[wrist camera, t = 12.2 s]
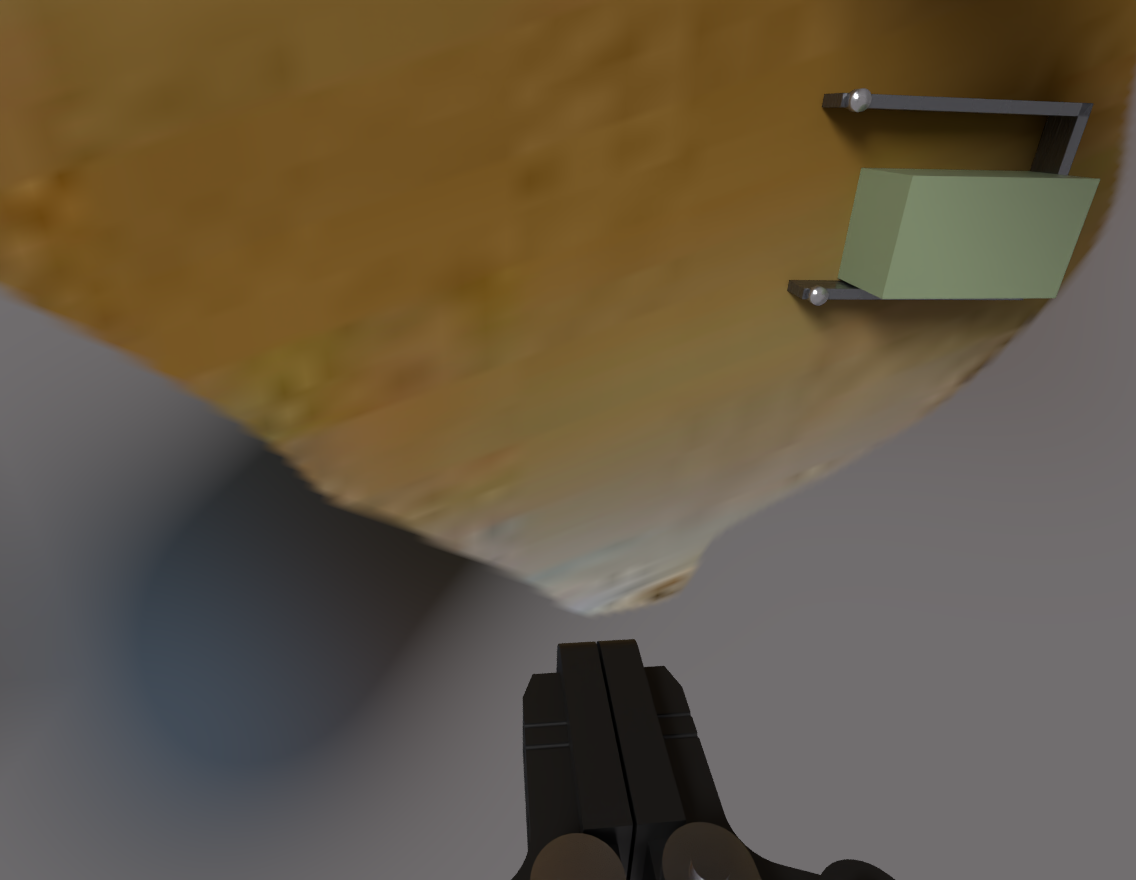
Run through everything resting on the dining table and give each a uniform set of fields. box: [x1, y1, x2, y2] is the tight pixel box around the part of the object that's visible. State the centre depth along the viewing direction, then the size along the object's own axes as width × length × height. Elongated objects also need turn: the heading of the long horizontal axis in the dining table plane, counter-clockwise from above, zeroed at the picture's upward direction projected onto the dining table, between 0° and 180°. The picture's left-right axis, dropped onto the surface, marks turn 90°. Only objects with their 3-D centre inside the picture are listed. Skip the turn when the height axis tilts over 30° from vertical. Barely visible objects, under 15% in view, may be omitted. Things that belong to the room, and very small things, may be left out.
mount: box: [787, 89, 1093, 306], centre depth 35 cm, size 11×14×3 cm
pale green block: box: [838, 168, 1100, 299], centre depth 35 cm, size 6×10×5 cm, turn 89°
